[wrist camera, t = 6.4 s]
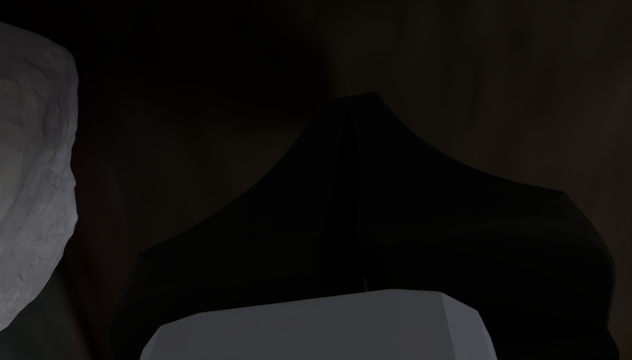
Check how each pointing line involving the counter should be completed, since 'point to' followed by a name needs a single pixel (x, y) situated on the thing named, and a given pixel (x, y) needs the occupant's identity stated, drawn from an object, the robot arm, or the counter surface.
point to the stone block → (34, 163)
